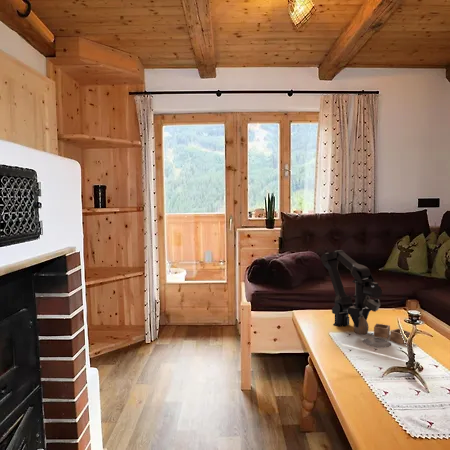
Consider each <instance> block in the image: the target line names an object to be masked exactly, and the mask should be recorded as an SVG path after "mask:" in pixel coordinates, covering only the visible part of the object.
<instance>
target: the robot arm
mask: <svg viewBox="0 0 450 450" xmlns="http://www.w3.org/2000/svg"><path fill="white" fill-rule="evenodd" d="M320 260H321V263H322V265H323V267H325V269H326V270H327V271H328V275H329V278H330V281H331V284H332V287H333V290H334V293H335V298H334V306H333V307H332V308H331V313H332V314H334V323H333V324H332V325H333V326H337V327H340V328H341V327H344V328H345V327H347V326H350V319H351V320H352V322H353V326H354V325H355V327H358V325H359V318H360V316H364V318H365V320H366V321H367V320H368V317H369V314H370V312H375V313H376V312H377V311H378V310H379V308H380V307H381V306H382V305H381V300H380V299H379V298H380V297H381V296H382V294H383V293H382V292H383V290H382V288H381V286H379V283H378V282H376V280H375V278H374V277H373V275H372V273H371V271H370V268H368V267H367V266H366V265H363V264H360V263H358V262H356V260H354V259H352V258H351V256H349V255H348V254H346V253H345V251H344V250H342V249H339V250H334V251H331V252H323V253H322V255H321V256H320ZM339 263H341V264H342V265H344V266H345V267H346V269H348V270H349V271H350V275H351V276H352V277H353V278H354V279H353V280H352V281H351V282H352V283H353V284H354V285H355V287H354V288H355V289H354V290H355V291H354V292H355V293H354V295H353V298H354V302H353V300H352V297H351V295H348V294H347V293H346V292H345V288H344V284H343V281H342V278H341V275H340V272H339V269H338V266H339ZM370 297H371V298H374V299H371V298H370ZM367 322H368V321H367Z"/></svg>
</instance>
